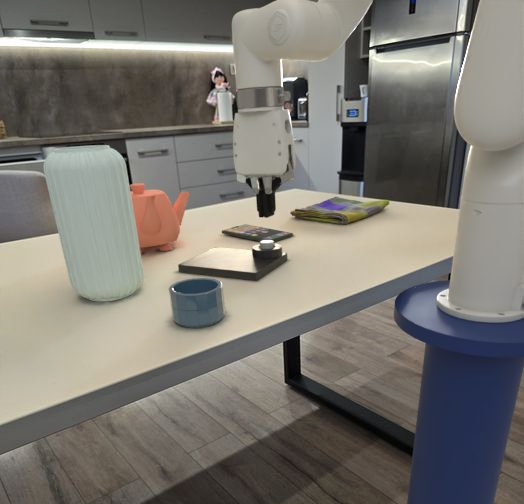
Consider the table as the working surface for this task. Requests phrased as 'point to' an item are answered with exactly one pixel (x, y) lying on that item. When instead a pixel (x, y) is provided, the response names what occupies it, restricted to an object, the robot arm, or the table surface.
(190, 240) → the table surface
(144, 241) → the teapot
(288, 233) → the smartphone
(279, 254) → the scale
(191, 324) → the bowl
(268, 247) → the button
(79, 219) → the vase
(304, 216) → the dish towel
